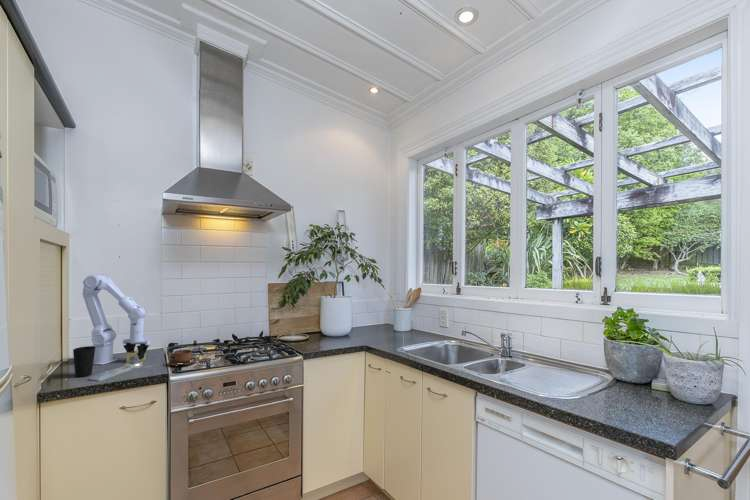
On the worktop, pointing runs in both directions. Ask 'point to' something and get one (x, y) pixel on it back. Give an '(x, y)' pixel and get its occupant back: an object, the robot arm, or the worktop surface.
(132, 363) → the ratchet
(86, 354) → the cup
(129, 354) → the yellowish glass tumbler
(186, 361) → the cup and saucer
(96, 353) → the robot arm
